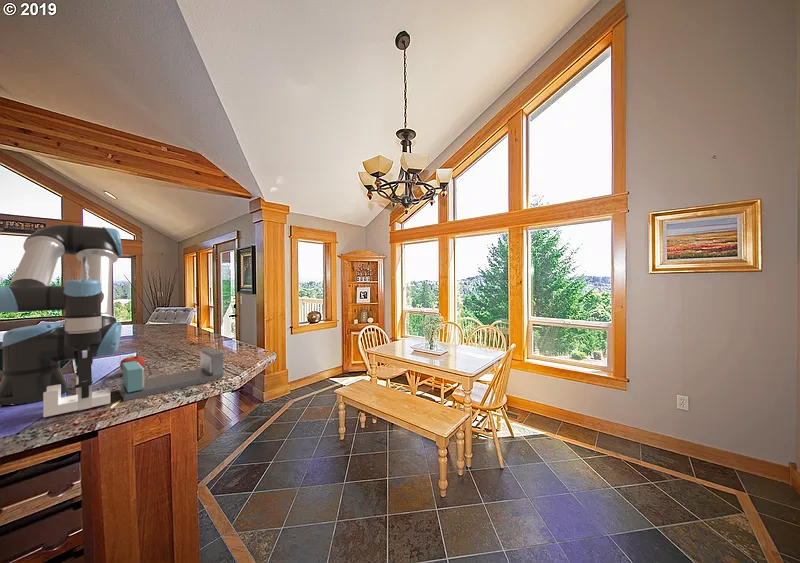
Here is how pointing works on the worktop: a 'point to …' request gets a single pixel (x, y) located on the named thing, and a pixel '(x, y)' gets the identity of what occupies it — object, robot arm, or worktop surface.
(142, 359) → the apple
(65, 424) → the worktop surface
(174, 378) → the vise base
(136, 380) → the block
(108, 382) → the worktop surface
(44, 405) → the bracket
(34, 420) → the worktop surface
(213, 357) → the block
